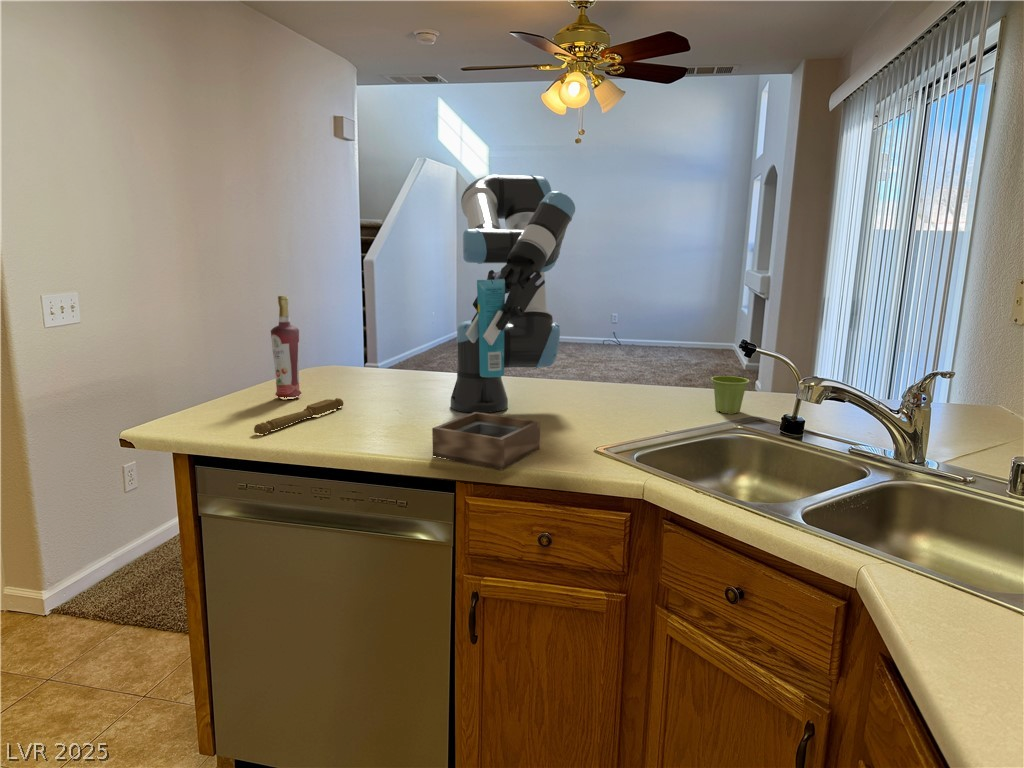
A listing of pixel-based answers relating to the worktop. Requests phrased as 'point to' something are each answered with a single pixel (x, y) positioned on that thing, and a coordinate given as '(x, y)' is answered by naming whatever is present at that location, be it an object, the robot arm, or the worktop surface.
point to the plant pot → (729, 393)
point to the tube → (488, 306)
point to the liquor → (286, 353)
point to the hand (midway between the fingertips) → (478, 339)
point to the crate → (486, 440)
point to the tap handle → (298, 415)
